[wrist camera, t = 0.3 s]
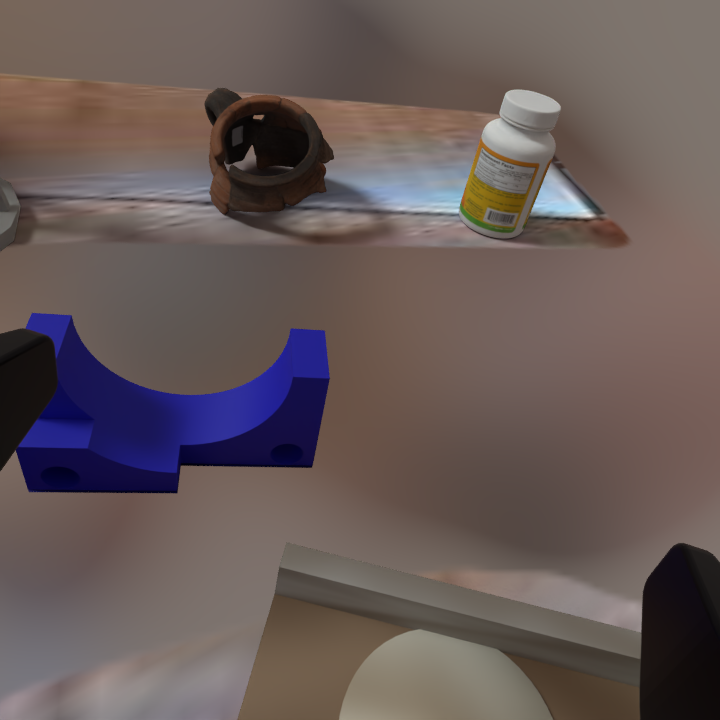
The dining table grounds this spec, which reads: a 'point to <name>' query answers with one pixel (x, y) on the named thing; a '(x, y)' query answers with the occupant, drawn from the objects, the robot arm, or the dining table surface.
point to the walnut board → (429, 652)
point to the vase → (8, 213)
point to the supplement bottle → (510, 165)
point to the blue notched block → (168, 421)
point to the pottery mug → (263, 152)
